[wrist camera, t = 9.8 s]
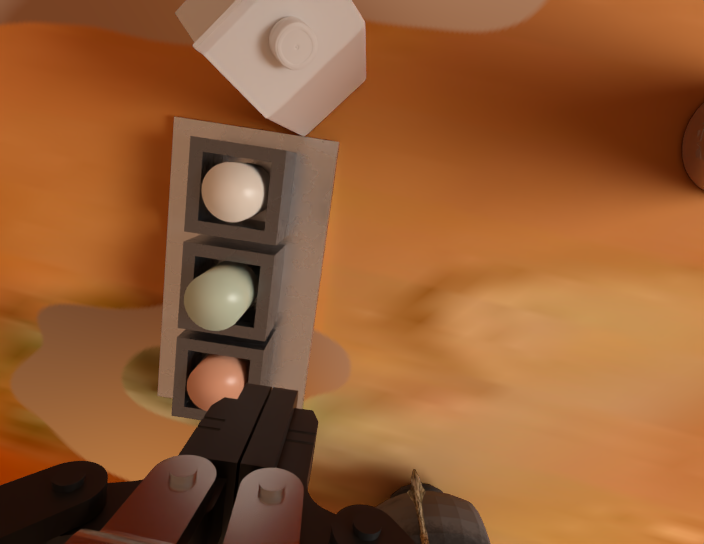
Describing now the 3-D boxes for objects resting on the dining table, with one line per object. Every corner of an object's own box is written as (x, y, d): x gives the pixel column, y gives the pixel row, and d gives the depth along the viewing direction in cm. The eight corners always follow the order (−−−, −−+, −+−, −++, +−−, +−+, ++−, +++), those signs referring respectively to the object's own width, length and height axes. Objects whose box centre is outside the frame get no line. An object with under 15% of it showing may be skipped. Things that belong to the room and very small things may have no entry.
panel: (339, 142, 39) (334, 138, 33) (301, 412, 45) (292, 448, 39) (178, 117, 39) (145, 108, 33) (162, 390, 45) (131, 424, 39)
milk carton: (247, 71, 38) (135, -19, 20) (310, 9, 37) (253, -149, 19) (304, 137, 39) (248, 111, 21) (366, 79, 38) (366, -4, 20)
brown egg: (257, 344, 42) (242, 367, 37) (252, 388, 43) (237, 416, 38) (209, 337, 42) (188, 359, 37) (205, 380, 43) (185, 408, 38)
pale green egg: (261, 264, 38) (245, 278, 33) (255, 314, 39) (240, 335, 34) (209, 256, 38) (185, 269, 33) (205, 306, 39) (182, 326, 34)
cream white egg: (276, 167, 38) (263, 166, 33) (270, 219, 39) (257, 226, 34) (224, 159, 38) (203, 157, 33) (220, 211, 39) (199, 217, 34)
